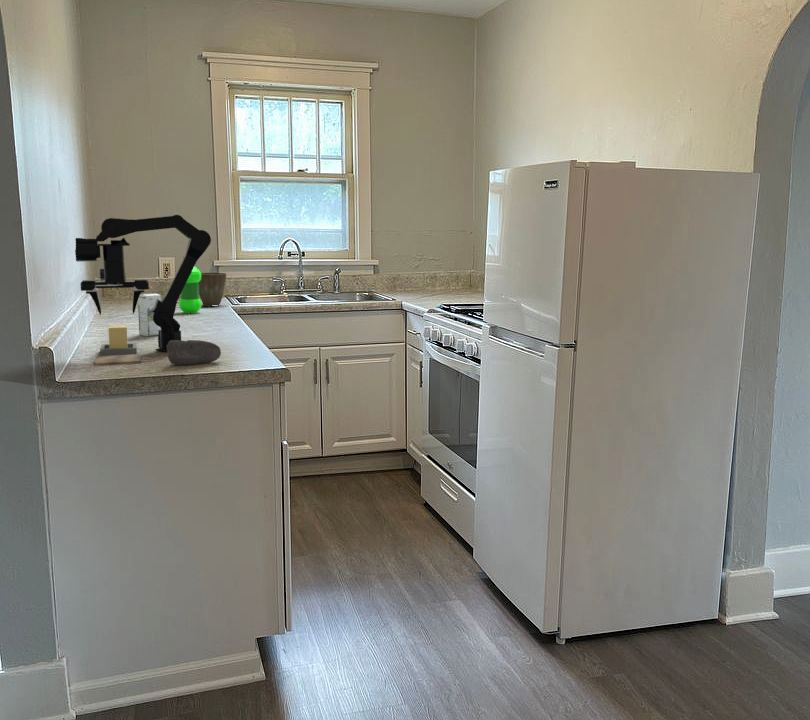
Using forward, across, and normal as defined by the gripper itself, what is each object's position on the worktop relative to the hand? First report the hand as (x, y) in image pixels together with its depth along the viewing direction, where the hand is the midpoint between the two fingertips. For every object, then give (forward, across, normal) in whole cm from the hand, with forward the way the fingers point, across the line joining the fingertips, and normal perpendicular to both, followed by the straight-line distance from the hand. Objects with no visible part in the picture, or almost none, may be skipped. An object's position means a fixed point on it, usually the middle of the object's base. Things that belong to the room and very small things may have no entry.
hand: (117, 313), depth 221 cm
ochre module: (+12, 0, 0) cm, 12 cm away
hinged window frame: (+12, 0, -5) cm, 13 cm away
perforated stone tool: (+12, -20, +25) cm, 34 cm away
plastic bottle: (+12, -28, -106) cm, 110 cm away
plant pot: (+12, -39, -134) cm, 141 cm away
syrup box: (+12, -10, -37) cm, 40 cm away
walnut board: (+12, 0, +14) cm, 18 cm away
